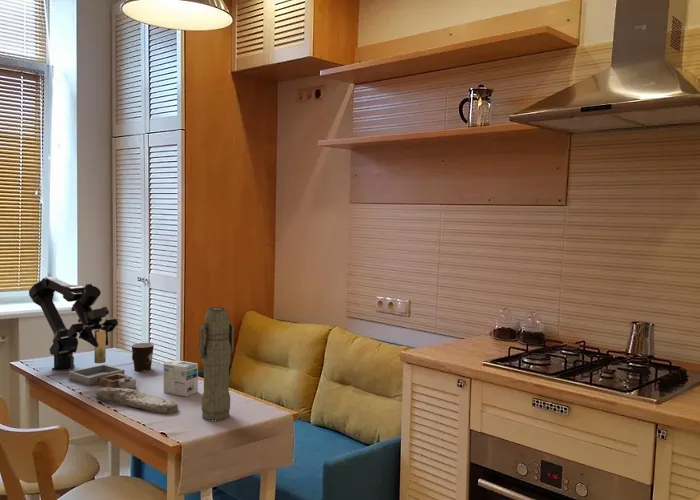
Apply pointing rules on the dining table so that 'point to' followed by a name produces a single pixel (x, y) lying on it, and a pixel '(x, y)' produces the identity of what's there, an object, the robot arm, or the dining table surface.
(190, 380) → the light bulb box
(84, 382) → the tray
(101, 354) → the pin
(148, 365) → the coffee mug
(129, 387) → the brown frame
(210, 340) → the headless robed statue
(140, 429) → the dining table surface
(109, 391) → the elongated rock
